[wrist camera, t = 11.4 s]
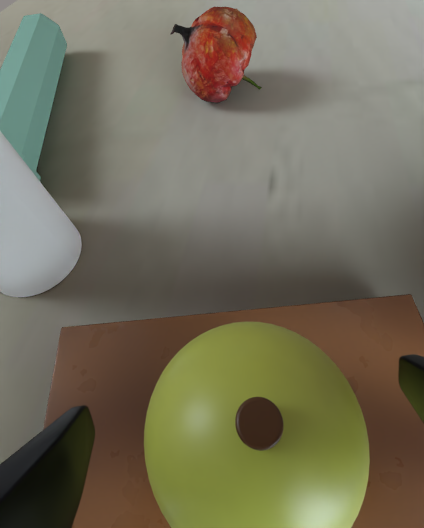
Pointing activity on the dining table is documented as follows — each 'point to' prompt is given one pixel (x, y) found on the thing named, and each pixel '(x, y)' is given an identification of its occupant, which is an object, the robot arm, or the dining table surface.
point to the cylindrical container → (31, 231)
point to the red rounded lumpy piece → (216, 52)
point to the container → (30, 85)
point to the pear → (255, 434)
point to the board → (189, 327)
